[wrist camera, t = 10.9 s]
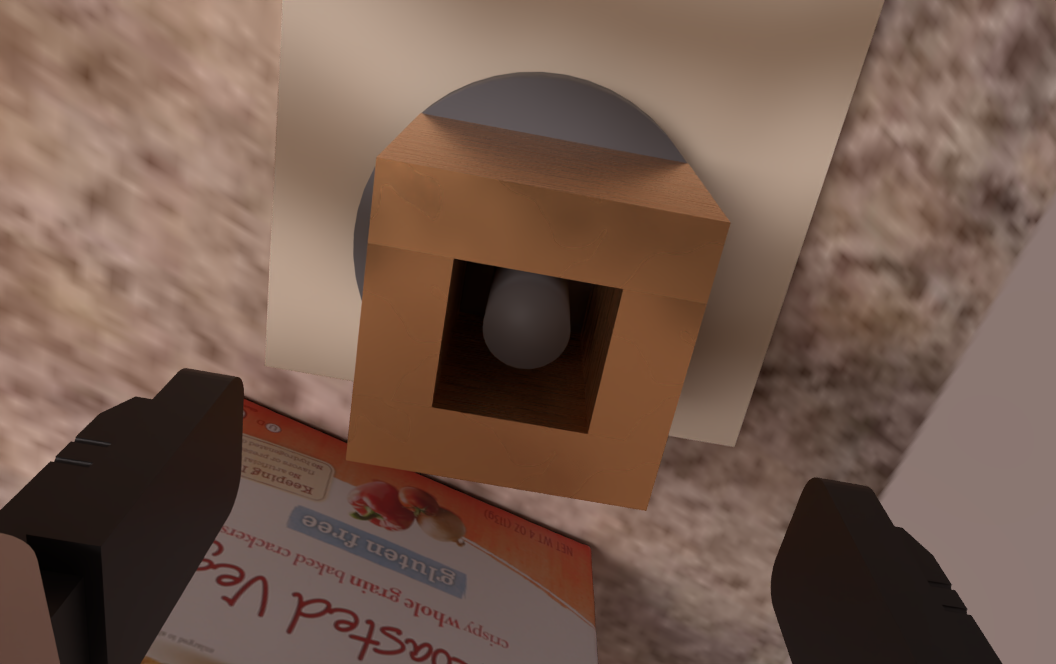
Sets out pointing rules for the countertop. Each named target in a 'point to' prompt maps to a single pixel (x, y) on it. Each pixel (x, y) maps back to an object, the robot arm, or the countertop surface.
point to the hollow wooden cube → (544, 248)
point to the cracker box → (373, 569)
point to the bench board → (641, 46)
